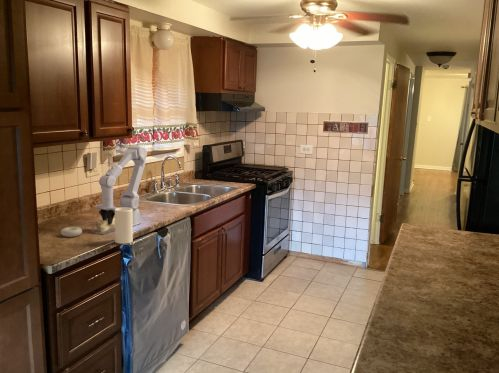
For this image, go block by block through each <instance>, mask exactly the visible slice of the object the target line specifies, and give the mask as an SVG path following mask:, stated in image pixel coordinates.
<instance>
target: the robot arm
mask: <svg viewBox="0 0 499 373" xmlns="http://www.w3.org/2000/svg"><path fill="white" fill-rule="evenodd" d="M147 156H148V150H147V148H146V147H144V146H135V145H129V146H128V147H127V148H126V149H125V153H124V154H123V155H122V157H121V158H120V160H119V161H118V163H116V164H113V165H111V167H110V169H109V170H107V172H106V173H105V175H102V176H101V177H100V179H99V180H98V184H99V185H100V189H101V204H96V205H95V208H94V209H95V210H99V211H98V213H99V215H100V216H101V219H102V221H103V220H106V219H108V224H112V221H113V217H115V209H116V208H119V207H118V206H114V187H115V185H116V181H117V179H118V178H119V177H120V175H121V174H122V173H123V168H124V167H125V166H127V165H128V164H129V162H130V161H132V162H133V163H134V165H133V169H132V173H131V176H130V180H129V182H128V186H127V189H126V191H125V192H124V193H122V196H121V197H120V199H119V206H120V208H122V207H127V208H132V209H133V227H134V226H136V225H137V226H138V225H140V224H142V222H141V220H140V219H141V218H140V217H141V213H140V209H139V208H138V207H139V206H140V196H139V194H138V191H139V186H140V184H141V180H142V177H143V173H144V170H145V166H146V158H147Z"/></svg>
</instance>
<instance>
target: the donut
mask: <svg viewBox="0 0 499 373" xmlns="http://www.w3.org/2000/svg"><path fill="white" fill-rule="evenodd" d="M82 233H83V229H82V228H81V227H78V226H67V227H64V228H62V229H61V230H60V235H61V236H62V237H67V238H72V237H78V236H80V235H81V234H82Z"/></svg>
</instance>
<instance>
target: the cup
mask: <svg viewBox="0 0 499 373" xmlns="http://www.w3.org/2000/svg"><path fill="white" fill-rule="evenodd" d="M114 217H115V231H114V240H115V241H114V243H116V244H130V243H132V242H134V241H133V238H134V237H133V236H134V233H133V232H134V228H133V227H134V226H133V209H132V208H127V207H118V208H116V209H115V215H114Z"/></svg>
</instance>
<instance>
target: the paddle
mask: <svg viewBox="0 0 499 373" xmlns="http://www.w3.org/2000/svg"><path fill="white" fill-rule="evenodd" d="M112 228H115V216H114V217H113V221H112V224H108V219H106V220H103V219H102V220H99V221H97V222H96V229H97V232H103V231H106V230H109V229H112Z"/></svg>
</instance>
